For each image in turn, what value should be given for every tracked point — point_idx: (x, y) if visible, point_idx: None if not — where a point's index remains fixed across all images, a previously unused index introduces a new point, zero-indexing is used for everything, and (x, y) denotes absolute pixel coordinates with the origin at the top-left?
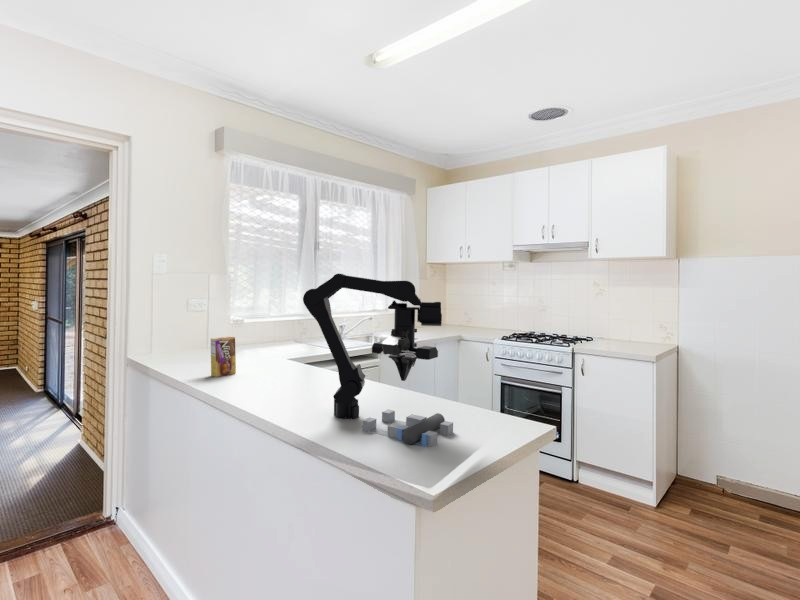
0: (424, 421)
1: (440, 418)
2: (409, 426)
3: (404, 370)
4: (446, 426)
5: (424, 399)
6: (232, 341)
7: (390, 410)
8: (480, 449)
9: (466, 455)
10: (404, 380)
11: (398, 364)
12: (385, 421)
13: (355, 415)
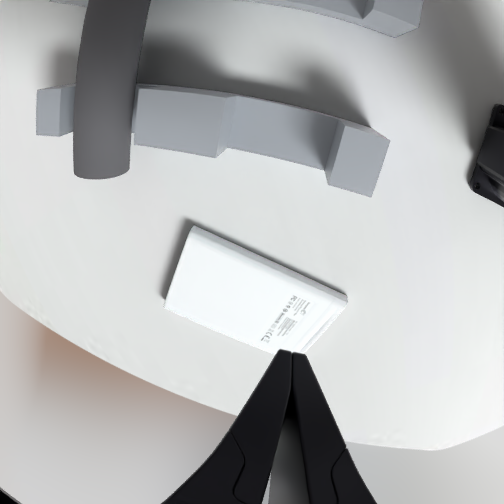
0: (92, 29)
1: (73, 142)
2: (217, 92)
3: (249, 431)
4: (44, 89)
5: None
6: None
7: (353, 180)
8: (8, 86)
9: (23, 27)
10: (275, 356)
11: (332, 500)
12: (357, 125)
13: (496, 144)
